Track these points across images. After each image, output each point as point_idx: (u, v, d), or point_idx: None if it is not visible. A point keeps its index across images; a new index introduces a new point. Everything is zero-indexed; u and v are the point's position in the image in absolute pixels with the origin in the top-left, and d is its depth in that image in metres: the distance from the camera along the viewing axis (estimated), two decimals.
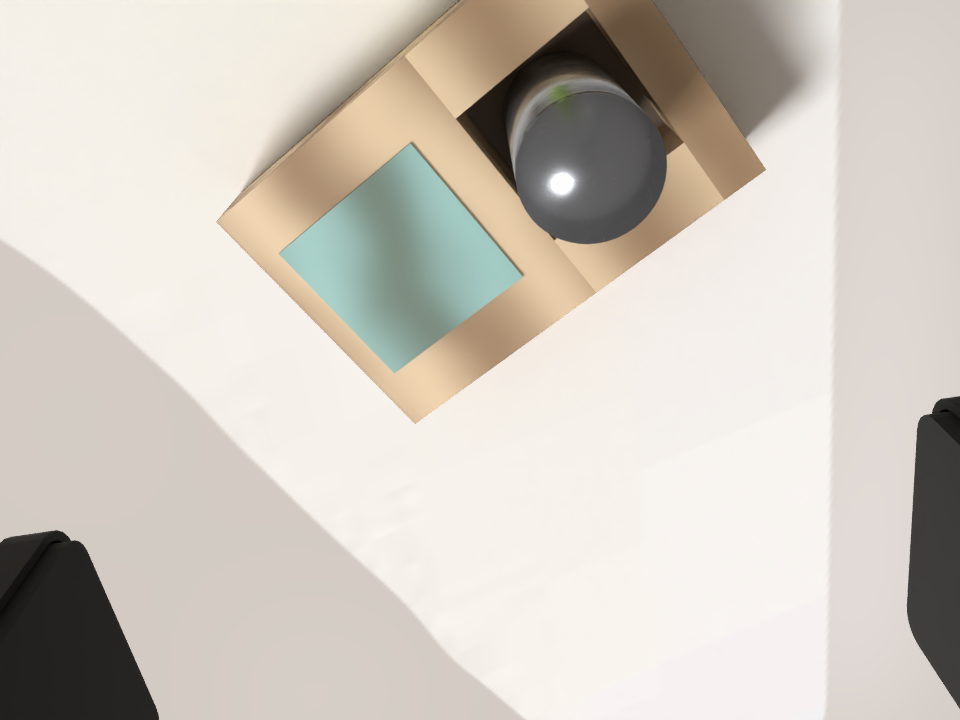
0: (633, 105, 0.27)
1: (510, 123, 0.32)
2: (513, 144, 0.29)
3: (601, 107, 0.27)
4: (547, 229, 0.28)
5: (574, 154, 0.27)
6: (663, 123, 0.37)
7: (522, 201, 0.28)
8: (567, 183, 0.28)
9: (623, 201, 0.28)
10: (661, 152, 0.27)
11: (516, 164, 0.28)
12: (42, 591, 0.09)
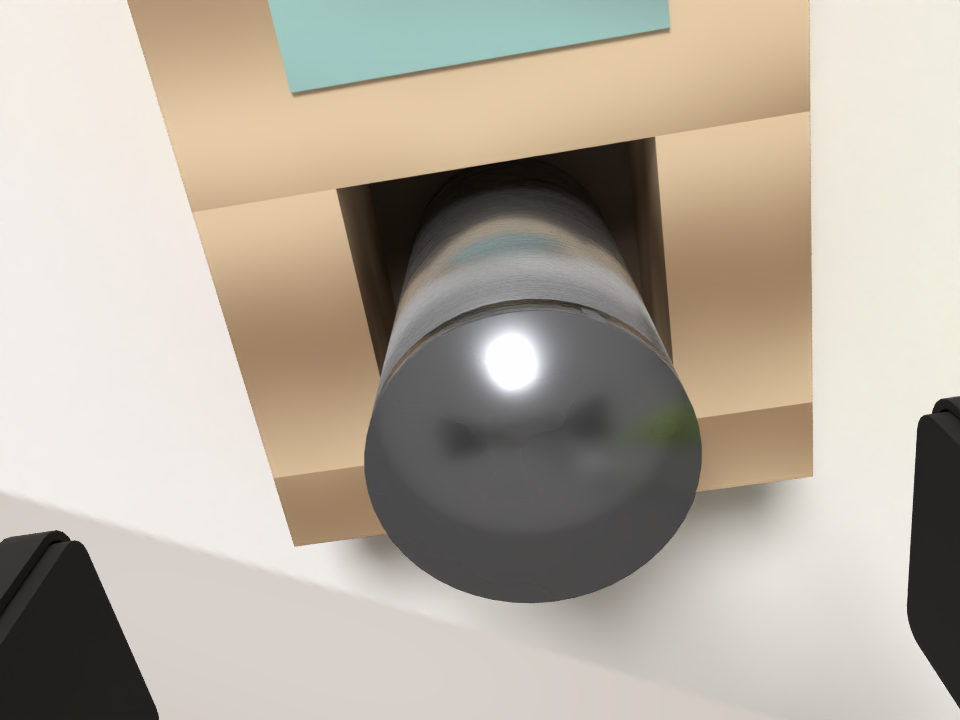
0: (606, 583, 0.13)
1: (607, 245, 0.16)
2: (625, 294, 0.14)
3: (640, 536, 0.13)
4: (462, 334, 0.12)
5: (586, 456, 0.12)
6: None
7: (554, 315, 0.11)
8: (536, 418, 0.12)
9: (435, 495, 0.13)
10: (493, 591, 0.13)
11: (638, 342, 0.12)
12: (42, 591, 0.09)
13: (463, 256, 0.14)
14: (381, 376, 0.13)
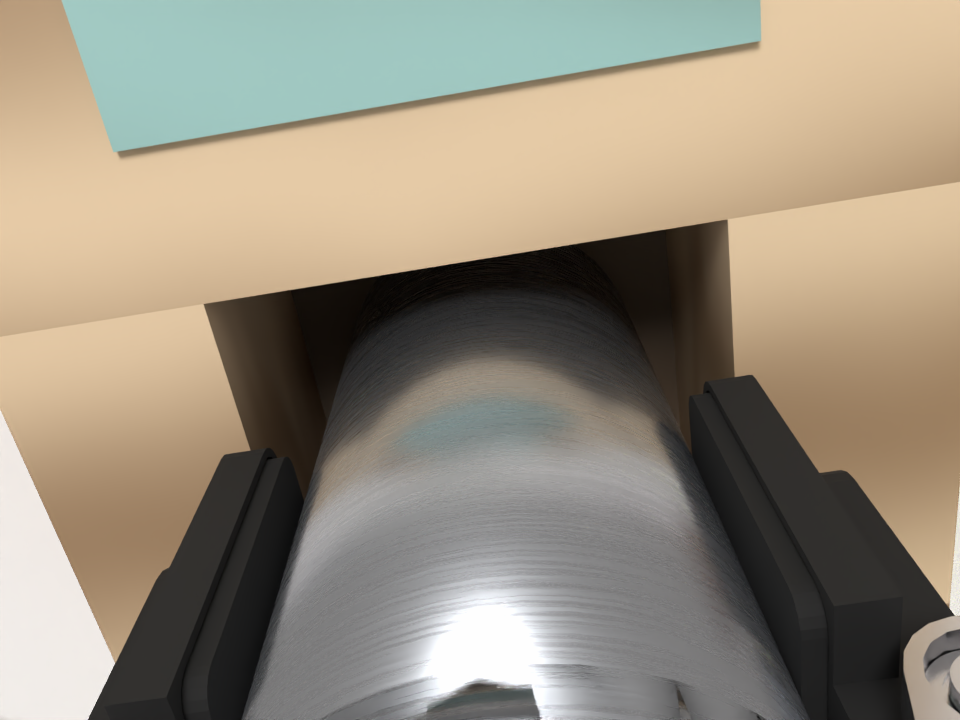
0: None
1: (651, 404, 0.10)
2: (708, 562, 0.07)
3: None
4: None
5: None
6: None
7: None
8: None
9: None
10: None
11: None
12: (273, 496, 0.09)
13: (402, 470, 0.08)
14: None
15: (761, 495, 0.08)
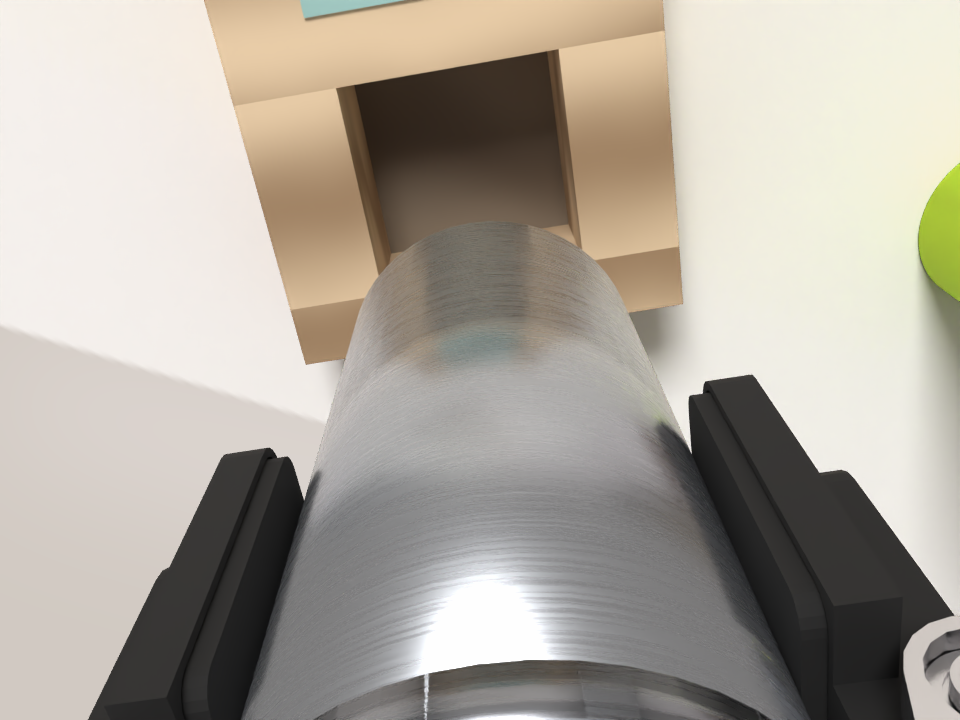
0: None
1: (651, 402, 0.10)
2: (708, 559, 0.07)
3: None
4: None
5: None
6: (390, 254, 0.30)
7: None
8: None
9: None
10: None
11: None
12: (273, 496, 0.09)
13: (402, 467, 0.08)
14: None
15: (761, 495, 0.08)
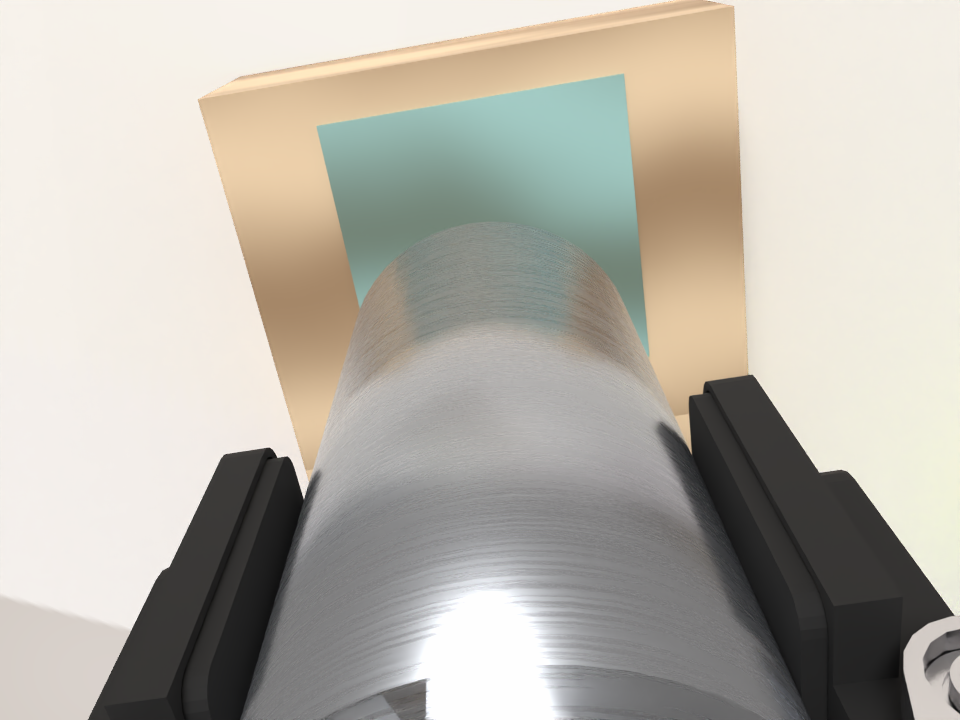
0: None
1: (651, 404, 0.10)
2: (709, 562, 0.07)
3: None
4: None
5: None
6: None
7: None
8: None
9: None
10: None
11: None
12: (273, 496, 0.09)
13: (402, 469, 0.08)
14: None
15: (761, 495, 0.08)
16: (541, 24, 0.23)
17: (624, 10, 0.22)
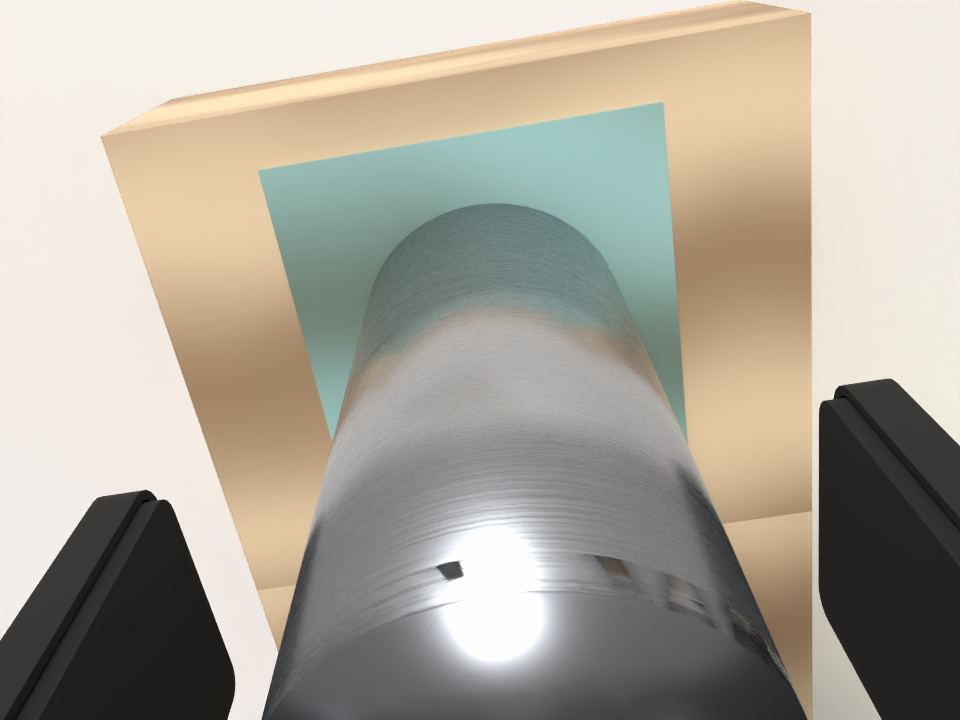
0: None
1: (635, 362, 0.11)
2: (678, 486, 0.08)
3: None
4: (406, 632, 0.06)
5: None
6: None
7: (574, 600, 0.06)
8: None
9: None
10: None
11: (721, 634, 0.07)
12: (140, 545, 0.09)
13: (419, 412, 0.09)
14: None
15: (937, 509, 0.07)
16: (550, 33, 0.18)
17: (656, 16, 0.18)
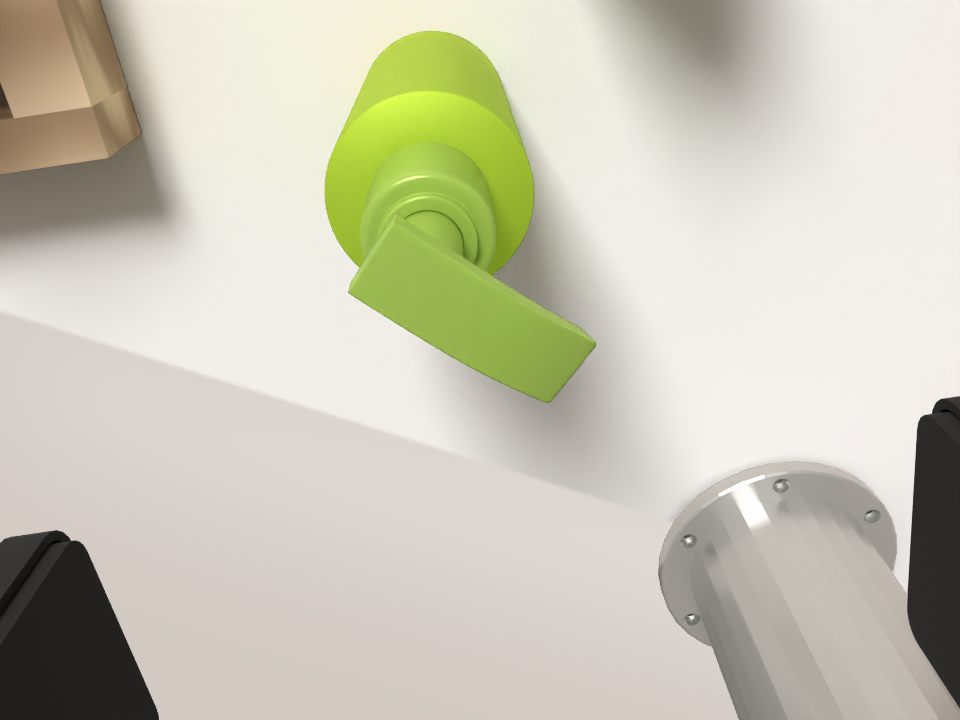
0: None
1: None
2: None
3: None
4: None
5: None
6: None
7: None
8: None
9: None
10: None
11: None
12: (42, 591, 0.09)
13: None
14: None
15: None
16: None
17: None
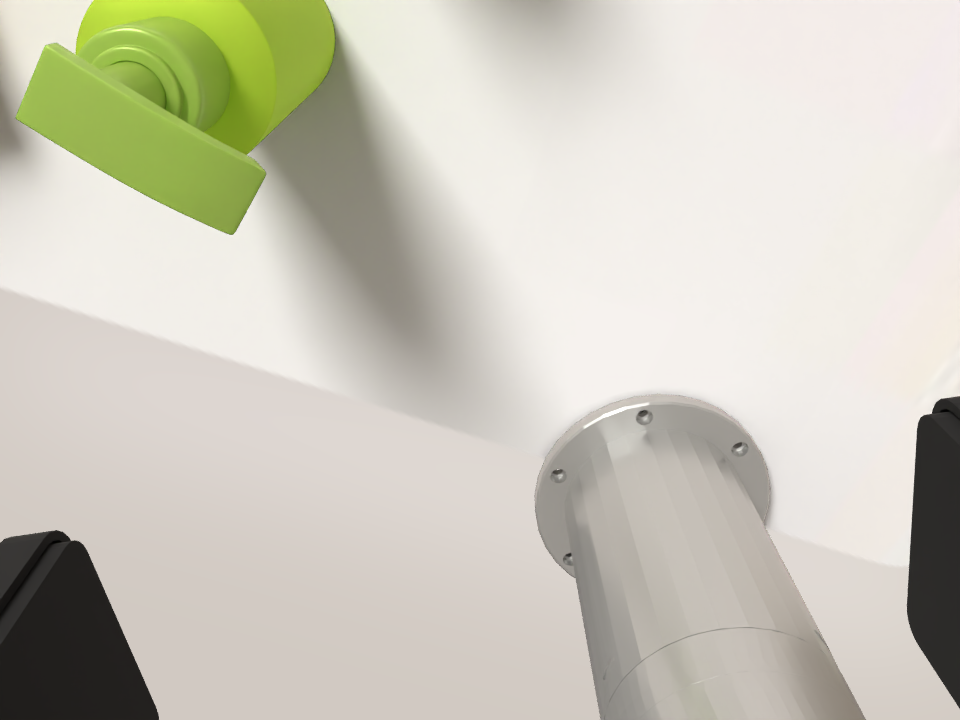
0: None
1: None
2: None
3: None
4: None
5: None
6: None
7: None
8: None
9: None
10: None
11: None
12: (42, 591, 0.09)
13: None
14: None
15: None
16: None
17: None
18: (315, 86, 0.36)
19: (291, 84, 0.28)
